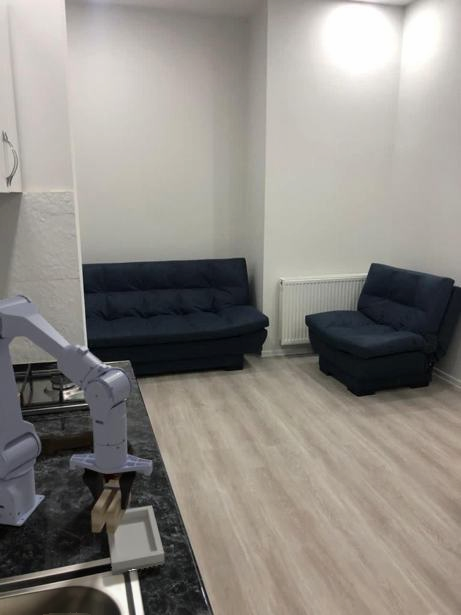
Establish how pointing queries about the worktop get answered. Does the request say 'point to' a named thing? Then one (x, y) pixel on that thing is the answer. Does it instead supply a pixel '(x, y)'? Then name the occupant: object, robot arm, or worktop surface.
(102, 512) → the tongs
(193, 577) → the worktop surface
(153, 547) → the tray
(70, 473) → the worktop surface
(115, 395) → the robot arm
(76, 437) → the hand tool
